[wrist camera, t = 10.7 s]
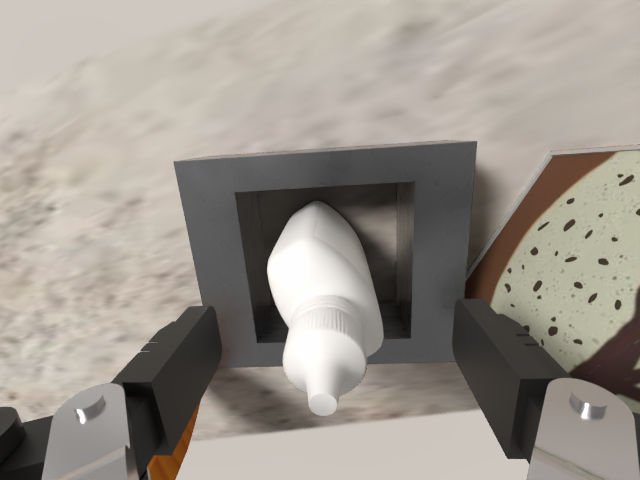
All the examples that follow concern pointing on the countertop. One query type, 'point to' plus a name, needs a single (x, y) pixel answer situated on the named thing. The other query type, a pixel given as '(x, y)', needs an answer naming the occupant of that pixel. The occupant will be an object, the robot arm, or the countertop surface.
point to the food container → (574, 265)
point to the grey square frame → (324, 171)
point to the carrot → (168, 466)
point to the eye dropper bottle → (324, 305)
